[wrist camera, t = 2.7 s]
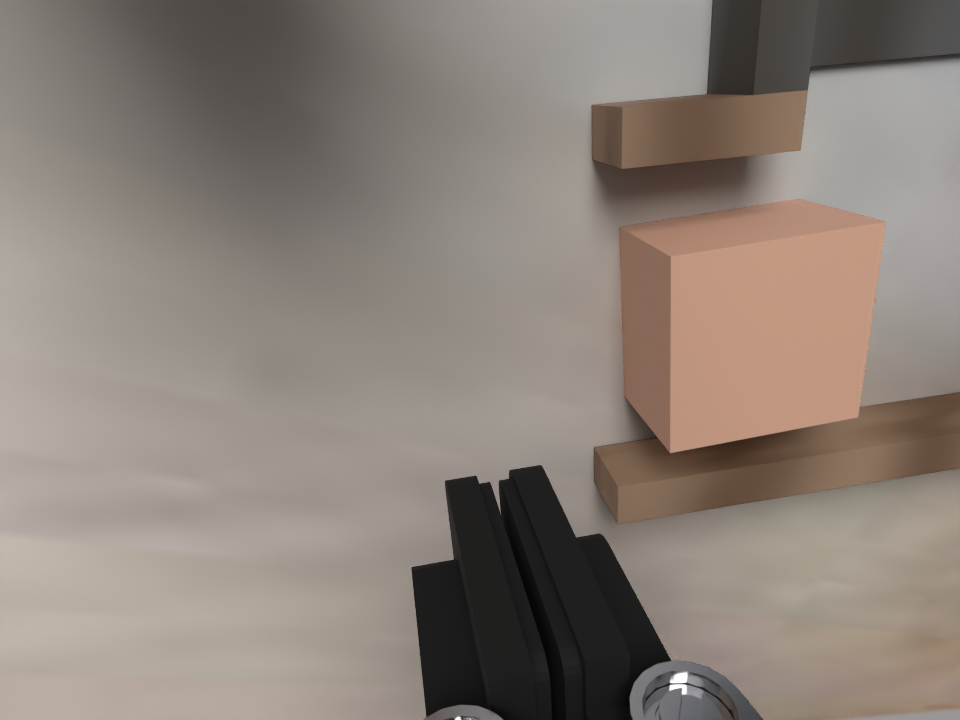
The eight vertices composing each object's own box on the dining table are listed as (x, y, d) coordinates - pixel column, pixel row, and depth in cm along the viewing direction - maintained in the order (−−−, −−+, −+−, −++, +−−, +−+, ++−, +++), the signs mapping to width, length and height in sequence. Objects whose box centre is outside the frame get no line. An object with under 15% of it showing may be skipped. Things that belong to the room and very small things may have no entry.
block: (795, 197, 21) (886, 221, 17) (781, 364, 23) (858, 417, 19) (617, 225, 20) (671, 256, 16) (622, 393, 22) (670, 453, 19)
